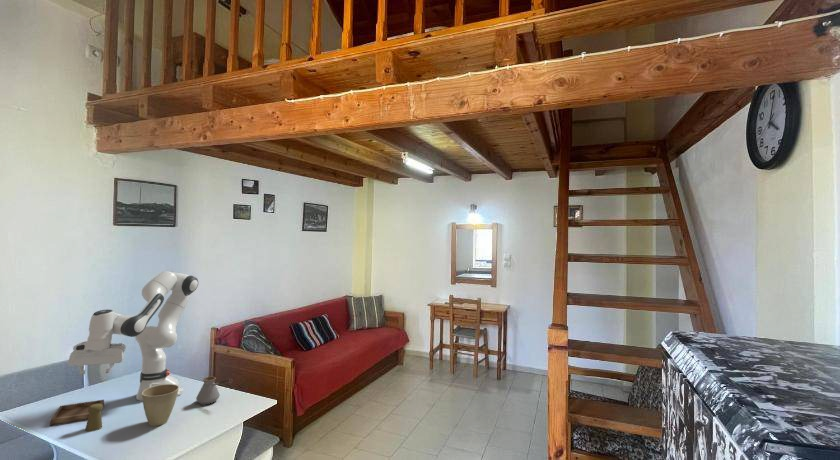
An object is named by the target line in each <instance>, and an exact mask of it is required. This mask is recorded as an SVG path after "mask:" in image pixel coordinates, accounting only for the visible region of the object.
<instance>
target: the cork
mask: <svg viewBox="0 0 840 460" xmlns="http://www.w3.org/2000/svg"><path fill="white" fill-rule="evenodd" d="M103 409H104V406H103V405H102V404H93V405H91V406H90V407H89V409H88V412H89V417H88V420H86V421H87V422H86V425H85V429H84V431H85V432H95V431H98V430H100V429H102V428H103V419H102V410H103Z"/></svg>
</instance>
